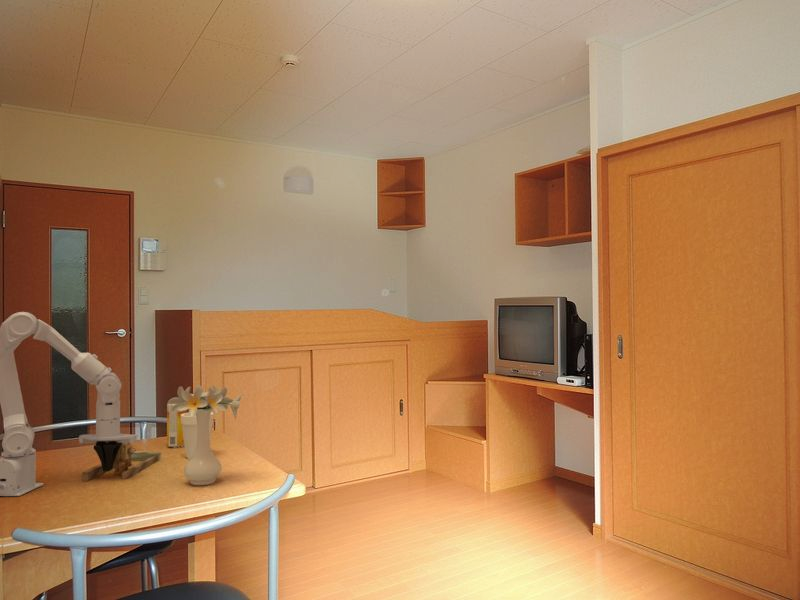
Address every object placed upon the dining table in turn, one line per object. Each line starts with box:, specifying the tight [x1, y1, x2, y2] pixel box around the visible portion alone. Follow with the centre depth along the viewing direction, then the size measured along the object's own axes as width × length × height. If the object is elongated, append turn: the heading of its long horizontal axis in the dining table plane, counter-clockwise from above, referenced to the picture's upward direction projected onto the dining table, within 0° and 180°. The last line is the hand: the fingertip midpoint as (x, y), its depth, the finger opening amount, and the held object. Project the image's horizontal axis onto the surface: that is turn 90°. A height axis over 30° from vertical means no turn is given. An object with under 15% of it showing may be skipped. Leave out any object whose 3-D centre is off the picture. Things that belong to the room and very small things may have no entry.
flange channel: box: [81, 450, 162, 482], centre depth 165 cm, size 22×11×2 cm, turn 178°
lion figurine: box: [114, 443, 137, 475], centre depth 164 cm, size 15×5×9 cm, turn 30°
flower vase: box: [167, 384, 244, 486], centre depth 153 cm, size 13×18×25 cm
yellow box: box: [166, 403, 188, 448], centre depth 193 cm, size 6×6×15 cm
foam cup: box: [181, 411, 215, 459], centre depth 179 cm, size 10×9×13 cm
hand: (107, 470), depth 156 cm, fingers closed
